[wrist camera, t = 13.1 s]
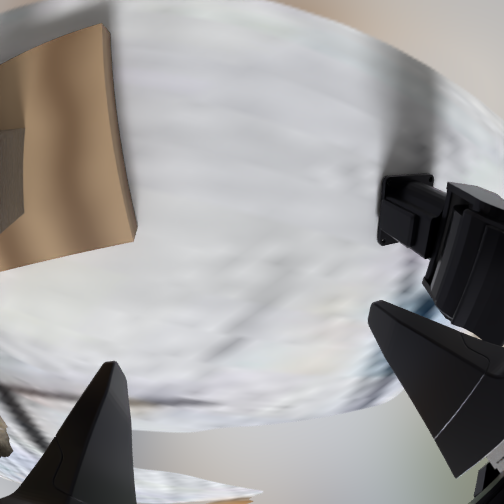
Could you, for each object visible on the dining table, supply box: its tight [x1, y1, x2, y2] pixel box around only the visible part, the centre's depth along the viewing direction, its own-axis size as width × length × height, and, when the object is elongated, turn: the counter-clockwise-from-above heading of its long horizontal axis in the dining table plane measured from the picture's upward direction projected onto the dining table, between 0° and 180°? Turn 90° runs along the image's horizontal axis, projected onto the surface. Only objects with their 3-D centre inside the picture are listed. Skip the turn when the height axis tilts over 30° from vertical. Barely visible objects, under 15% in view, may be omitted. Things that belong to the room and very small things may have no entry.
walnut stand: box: [0, 23, 138, 272], centre depth 13 cm, size 18×14×2 cm
